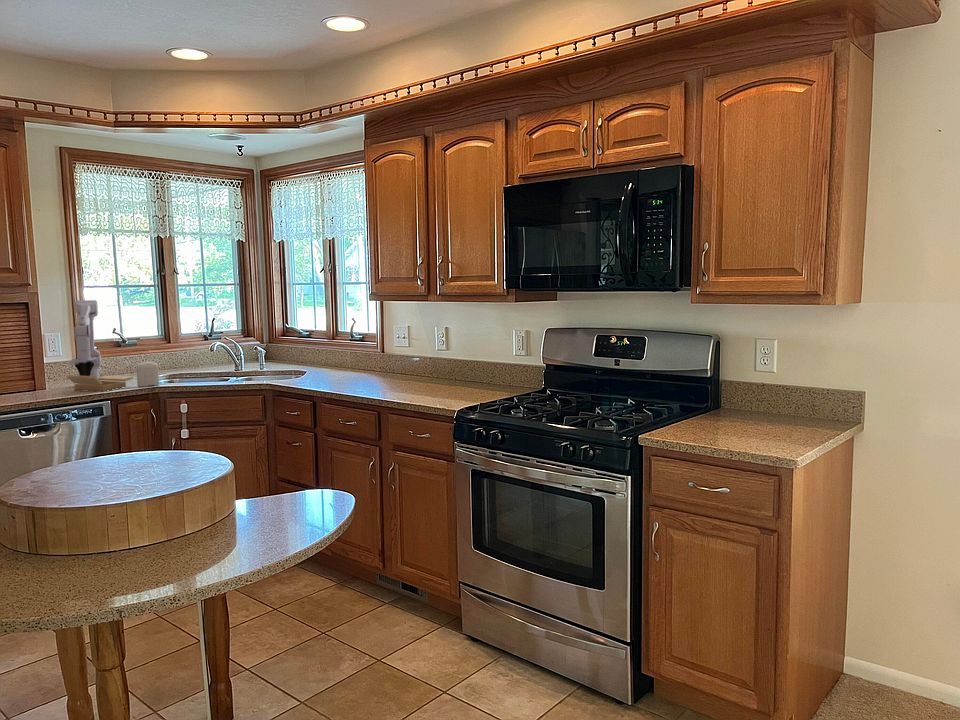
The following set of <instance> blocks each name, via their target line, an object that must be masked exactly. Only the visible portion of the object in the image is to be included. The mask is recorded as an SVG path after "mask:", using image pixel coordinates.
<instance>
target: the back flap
mask: <svg viewBox="0 0 960 720" xmlns="http://www.w3.org/2000/svg"><path fill="white" fill-rule="evenodd" d="M98 379H99V380H100V381H115V382H126V381H130V380H132V379H134V376H132V375H131V376H129V375H107V374H106V375H104V376H99V378H98Z"/></svg>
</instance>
